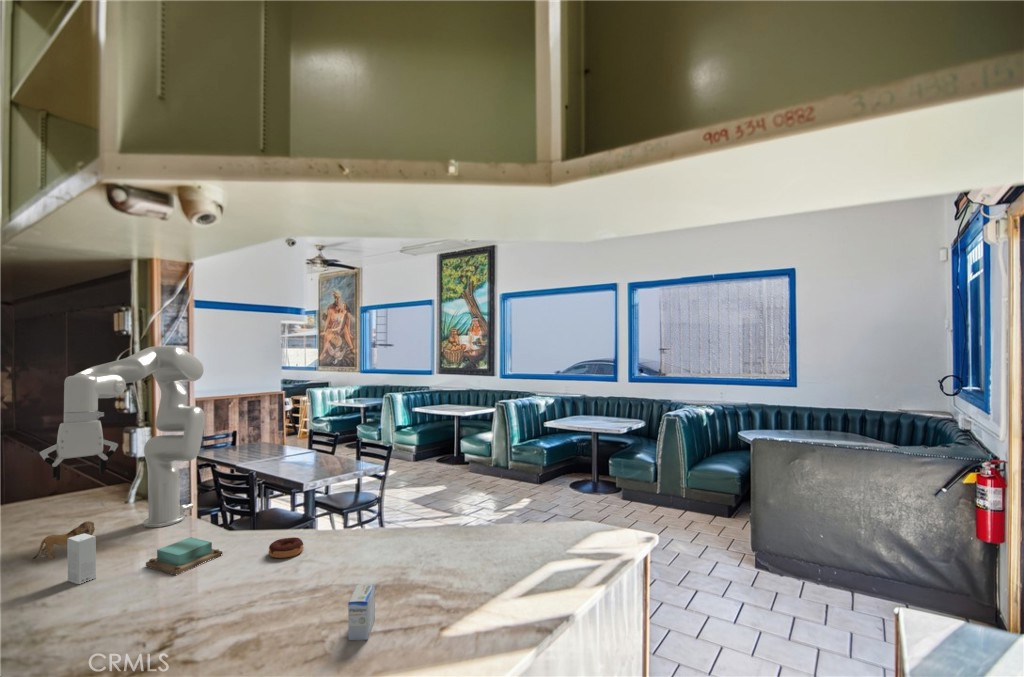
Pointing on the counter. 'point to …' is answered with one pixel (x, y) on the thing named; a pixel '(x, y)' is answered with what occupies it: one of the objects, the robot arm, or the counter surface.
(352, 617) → the medicine box
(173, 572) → the tower base
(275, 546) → the donut
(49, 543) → the lion figurine
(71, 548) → the skincare box
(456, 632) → the counter surface
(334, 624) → the counter surface
